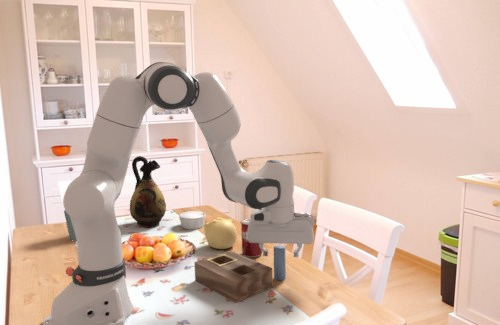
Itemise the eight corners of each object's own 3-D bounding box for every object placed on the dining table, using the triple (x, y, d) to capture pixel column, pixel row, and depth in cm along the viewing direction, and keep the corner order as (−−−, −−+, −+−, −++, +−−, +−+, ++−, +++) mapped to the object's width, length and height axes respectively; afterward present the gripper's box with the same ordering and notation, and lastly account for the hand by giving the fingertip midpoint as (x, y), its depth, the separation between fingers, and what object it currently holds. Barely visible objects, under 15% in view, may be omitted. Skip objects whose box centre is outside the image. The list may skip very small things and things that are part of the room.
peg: (279, 281, 138) (279, 250, 136) (271, 278, 141) (271, 247, 139) (288, 278, 140) (287, 247, 139) (279, 274, 143) (279, 244, 141)
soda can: (260, 258, 157) (259, 225, 154) (239, 257, 158) (239, 224, 156) (264, 250, 164) (263, 219, 161) (244, 249, 165) (243, 218, 163)
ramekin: (204, 230, 188) (204, 218, 188) (177, 230, 189) (177, 218, 188) (207, 222, 200) (206, 210, 199) (182, 222, 200) (181, 210, 199)
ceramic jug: (172, 220, 203) (168, 154, 198) (158, 231, 188) (153, 160, 183) (137, 218, 207) (133, 153, 202) (121, 229, 192) (115, 159, 187)
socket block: (236, 302, 126) (235, 281, 124) (195, 280, 140) (194, 261, 139) (272, 287, 135) (272, 267, 133) (230, 267, 149) (230, 249, 148)
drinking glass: (96, 238, 181) (94, 209, 179) (70, 243, 176) (67, 214, 174) (89, 231, 190) (87, 204, 187) (64, 236, 184) (61, 208, 182)
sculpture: (229, 238, 177) (228, 212, 175) (242, 248, 166) (241, 220, 164) (201, 243, 172) (200, 216, 170) (212, 254, 162) (211, 225, 160)
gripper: (314, 210, 138) (315, 253, 141) (248, 209, 141) (250, 251, 144) (314, 216, 132) (314, 261, 135) (245, 215, 135) (246, 259, 138)
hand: (280, 256), depth 139 cm, fingers open, 8 cm apart
